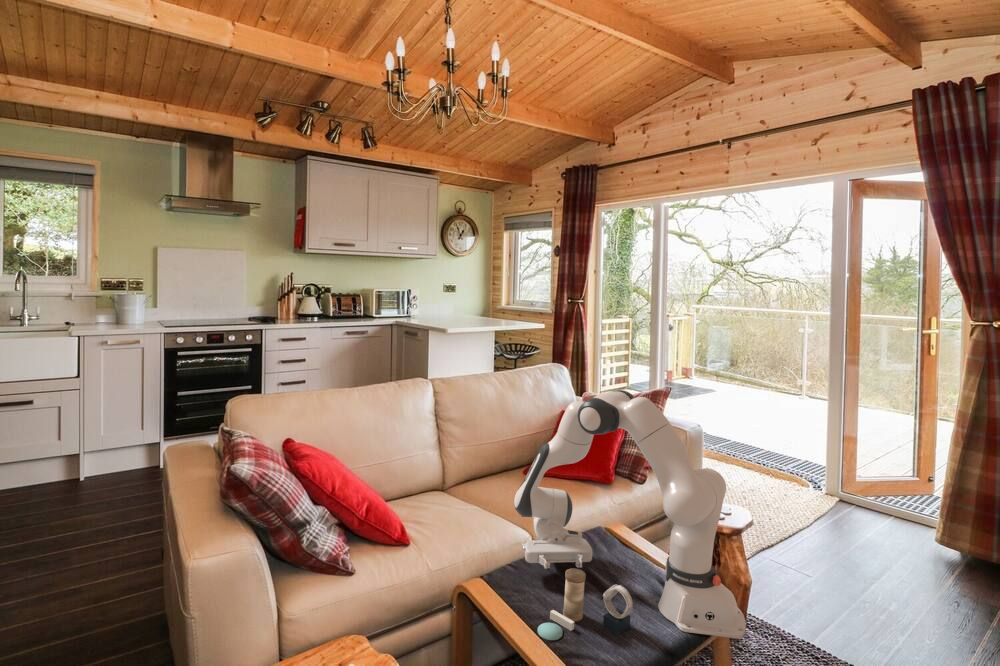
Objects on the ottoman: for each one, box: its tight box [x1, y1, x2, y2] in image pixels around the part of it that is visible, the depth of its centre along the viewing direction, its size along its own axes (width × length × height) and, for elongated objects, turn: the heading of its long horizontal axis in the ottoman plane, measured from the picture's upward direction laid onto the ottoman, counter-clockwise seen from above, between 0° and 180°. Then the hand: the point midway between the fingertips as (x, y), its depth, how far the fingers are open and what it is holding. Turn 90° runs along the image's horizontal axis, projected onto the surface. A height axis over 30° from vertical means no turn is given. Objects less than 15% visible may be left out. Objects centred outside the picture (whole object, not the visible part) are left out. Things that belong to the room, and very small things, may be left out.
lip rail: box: [549, 609, 575, 632], centre depth 149 cm, size 7×1×2 cm, turn 47°
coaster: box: [537, 622, 564, 641], centre depth 145 cm, size 6×6×1 cm
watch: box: [602, 583, 634, 636], centre depth 148 cm, size 6×8×11 cm
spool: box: [562, 568, 587, 623], centre depth 152 cm, size 5×5×12 cm
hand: (563, 565), depth 164 cm, fingers open, 8 cm apart
